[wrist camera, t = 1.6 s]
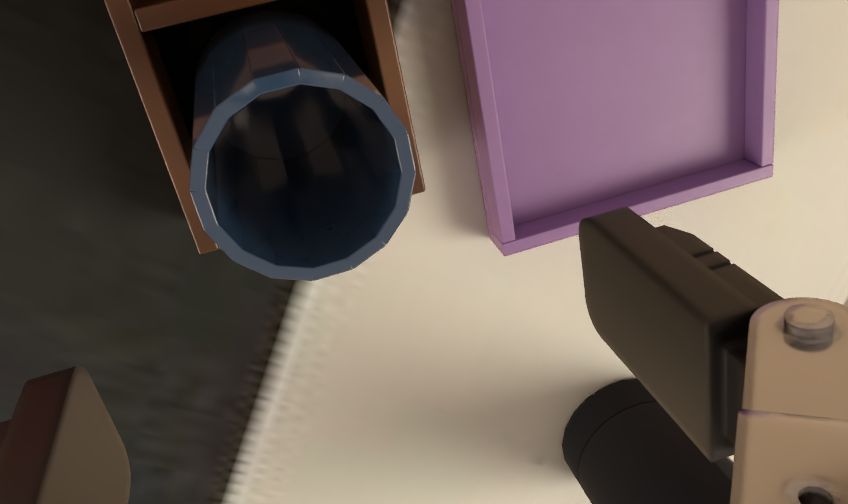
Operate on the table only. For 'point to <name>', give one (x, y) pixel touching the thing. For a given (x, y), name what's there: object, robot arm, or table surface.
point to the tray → (613, 106)
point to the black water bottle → (639, 452)
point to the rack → (133, 22)
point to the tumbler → (294, 150)
